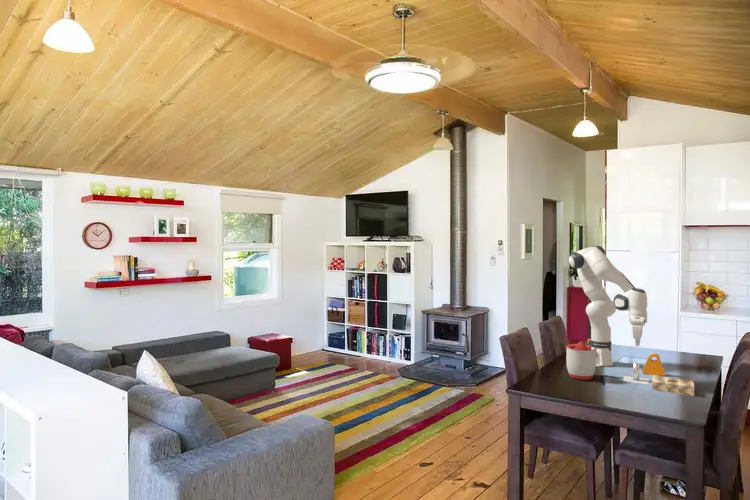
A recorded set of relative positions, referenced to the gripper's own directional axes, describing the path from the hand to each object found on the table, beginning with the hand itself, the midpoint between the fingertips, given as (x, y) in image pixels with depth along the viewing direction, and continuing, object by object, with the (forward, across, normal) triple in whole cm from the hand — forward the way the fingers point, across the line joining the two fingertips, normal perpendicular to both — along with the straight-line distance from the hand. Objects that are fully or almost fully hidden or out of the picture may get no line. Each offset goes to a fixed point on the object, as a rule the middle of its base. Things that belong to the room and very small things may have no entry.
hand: (637, 344), depth 275 cm
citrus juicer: (+20, +8, -27) cm, 34 cm away
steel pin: (+19, 0, -1) cm, 19 cm away
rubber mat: (+20, 0, -1) cm, 20 cm away
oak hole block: (+20, +9, +16) cm, 27 cm away
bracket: (+20, -20, +7) cm, 29 cm away
